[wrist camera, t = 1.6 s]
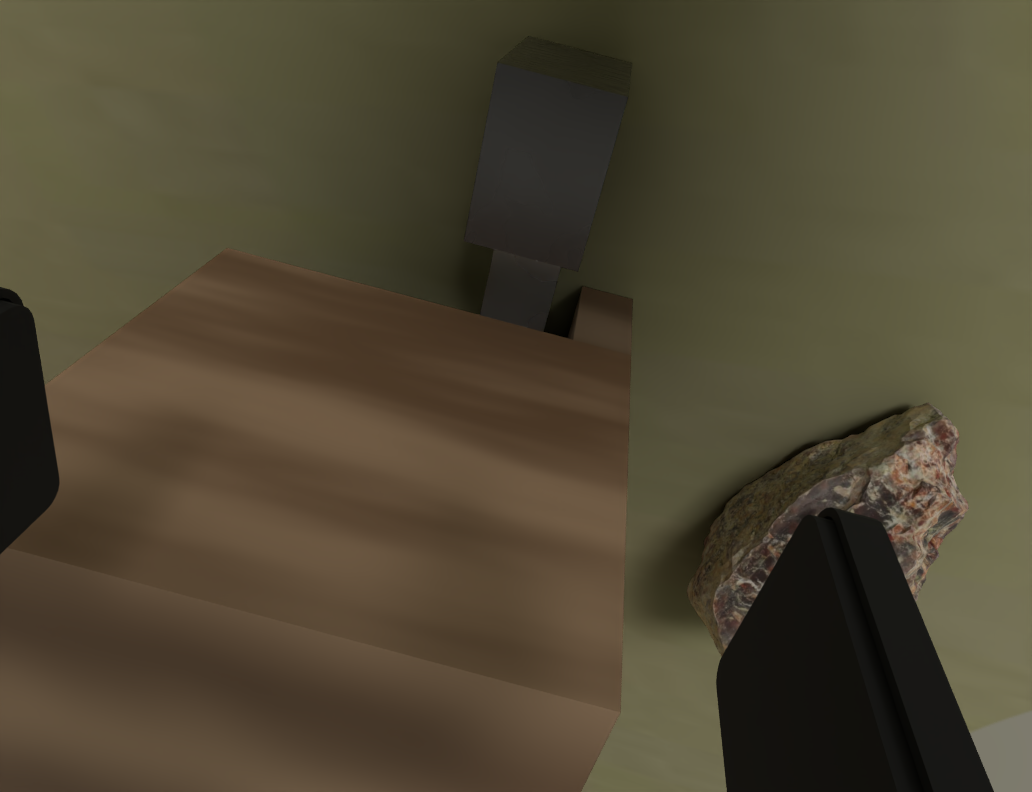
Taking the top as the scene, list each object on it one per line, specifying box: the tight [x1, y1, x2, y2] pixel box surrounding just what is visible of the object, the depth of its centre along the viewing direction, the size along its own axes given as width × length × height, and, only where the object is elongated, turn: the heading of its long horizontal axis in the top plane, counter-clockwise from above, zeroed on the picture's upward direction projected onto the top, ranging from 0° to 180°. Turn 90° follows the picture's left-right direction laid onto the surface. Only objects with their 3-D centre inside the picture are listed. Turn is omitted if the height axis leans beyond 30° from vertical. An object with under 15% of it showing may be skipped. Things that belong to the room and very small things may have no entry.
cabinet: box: [0, 248, 633, 792], centre depth 26 cm, size 18×14×18 cm
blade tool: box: [464, 36, 632, 332], centre depth 27 cm, size 20×4×6 cm, turn 168°
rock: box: [687, 402, 969, 656], centre depth 29 cm, size 7×11×10 cm
